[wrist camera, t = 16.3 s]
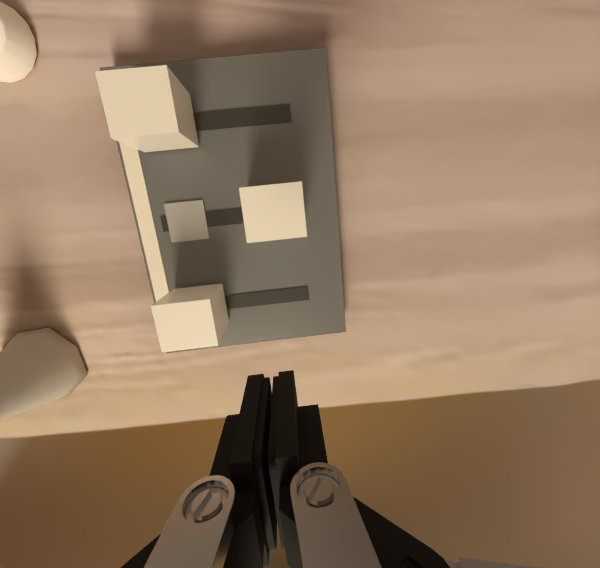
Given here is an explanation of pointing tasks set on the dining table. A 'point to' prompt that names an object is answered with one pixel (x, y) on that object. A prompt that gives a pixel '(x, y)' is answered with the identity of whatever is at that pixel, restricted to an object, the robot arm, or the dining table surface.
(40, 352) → the flask
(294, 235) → the tab
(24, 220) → the dining table surface
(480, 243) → the dining table surface
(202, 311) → the cream cube
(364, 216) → the dining table surface
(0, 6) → the upside-down white bowl
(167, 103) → the tab
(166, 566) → the robot arm
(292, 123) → the switch panel
